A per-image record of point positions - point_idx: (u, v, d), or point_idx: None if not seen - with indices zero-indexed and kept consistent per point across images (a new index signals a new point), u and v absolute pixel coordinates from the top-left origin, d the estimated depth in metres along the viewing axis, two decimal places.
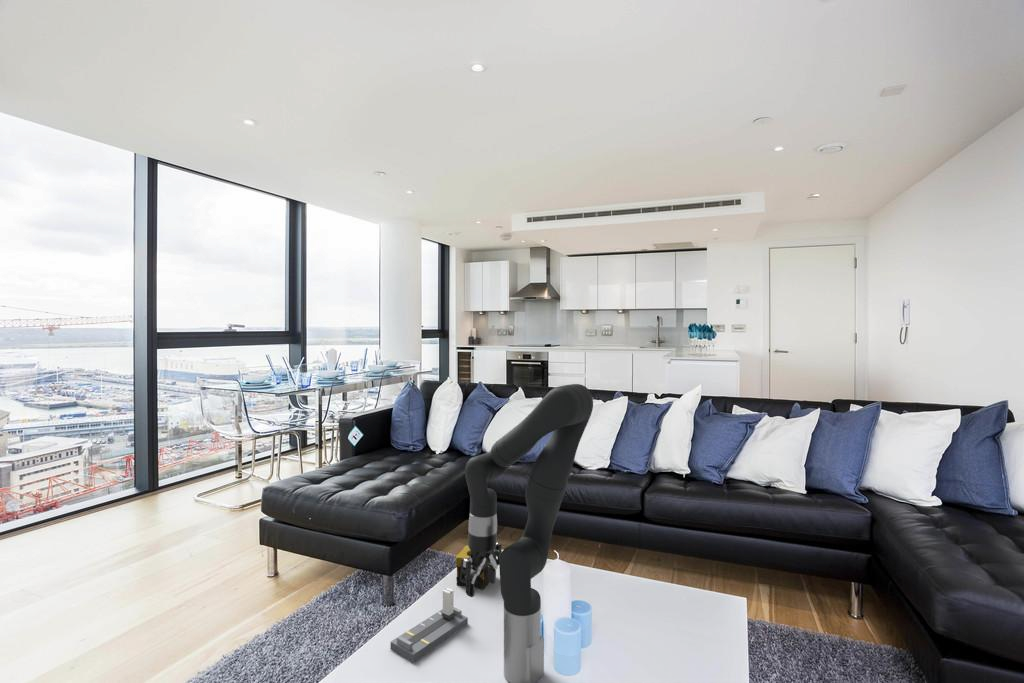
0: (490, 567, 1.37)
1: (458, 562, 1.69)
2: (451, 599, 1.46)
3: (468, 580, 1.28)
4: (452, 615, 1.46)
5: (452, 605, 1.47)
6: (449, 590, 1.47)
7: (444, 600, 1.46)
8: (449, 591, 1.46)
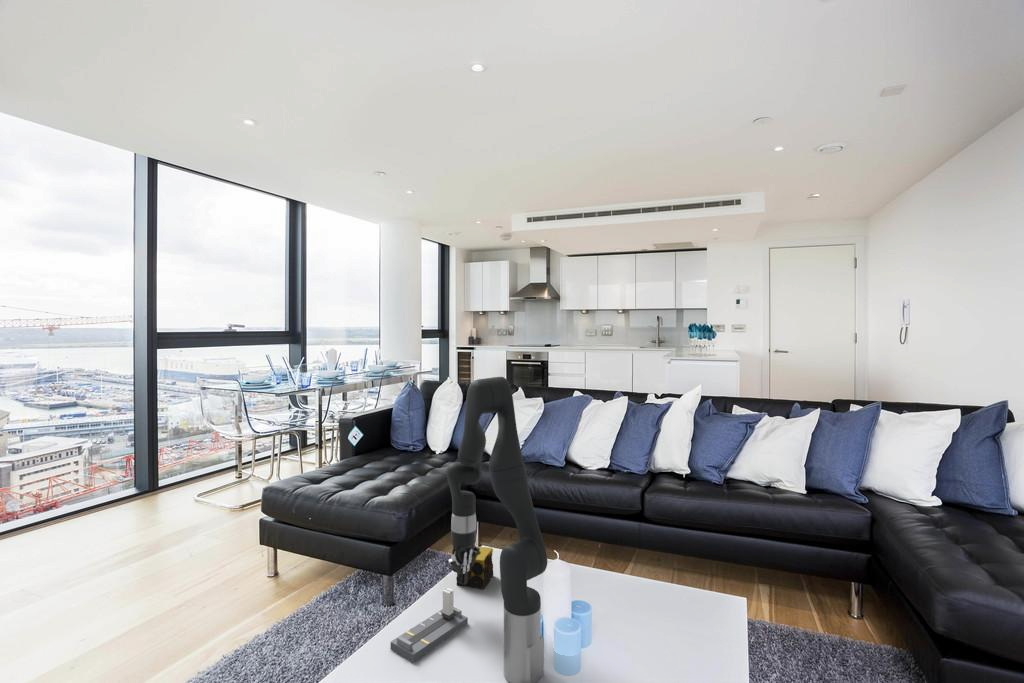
0: None
1: None
2: (451, 599, 1.46)
3: (460, 570, 1.49)
4: (452, 615, 1.46)
5: (452, 605, 1.47)
6: (449, 590, 1.47)
7: (444, 600, 1.46)
8: (449, 591, 1.46)
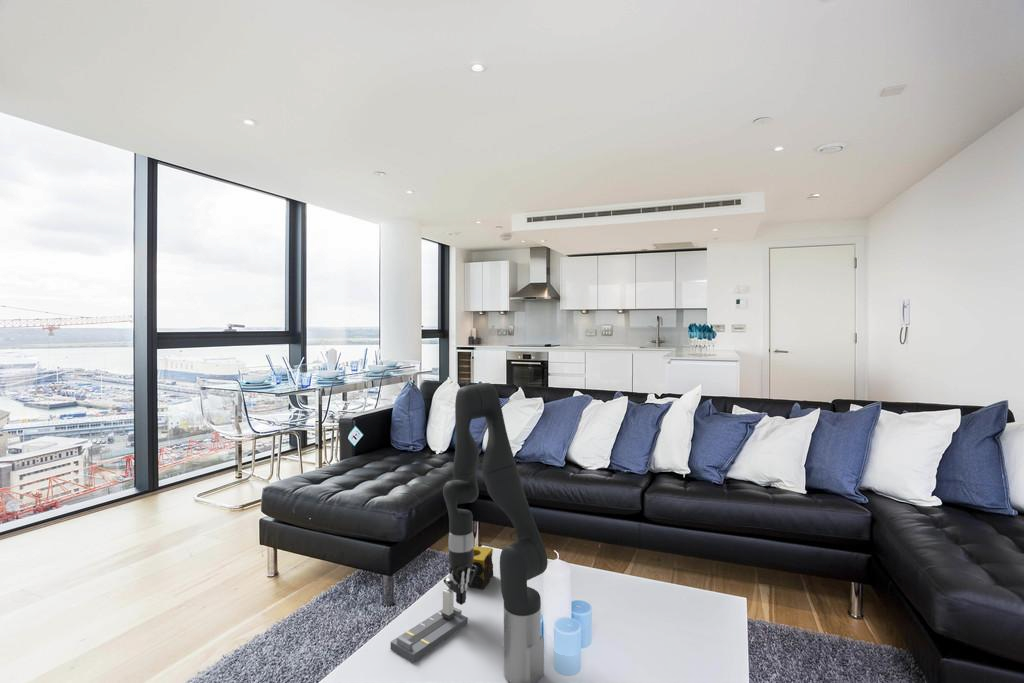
0: None
1: None
2: (451, 599, 1.46)
3: (457, 590, 1.48)
4: (452, 615, 1.46)
5: (452, 605, 1.47)
6: (449, 590, 1.47)
7: (444, 600, 1.46)
8: (449, 591, 1.46)
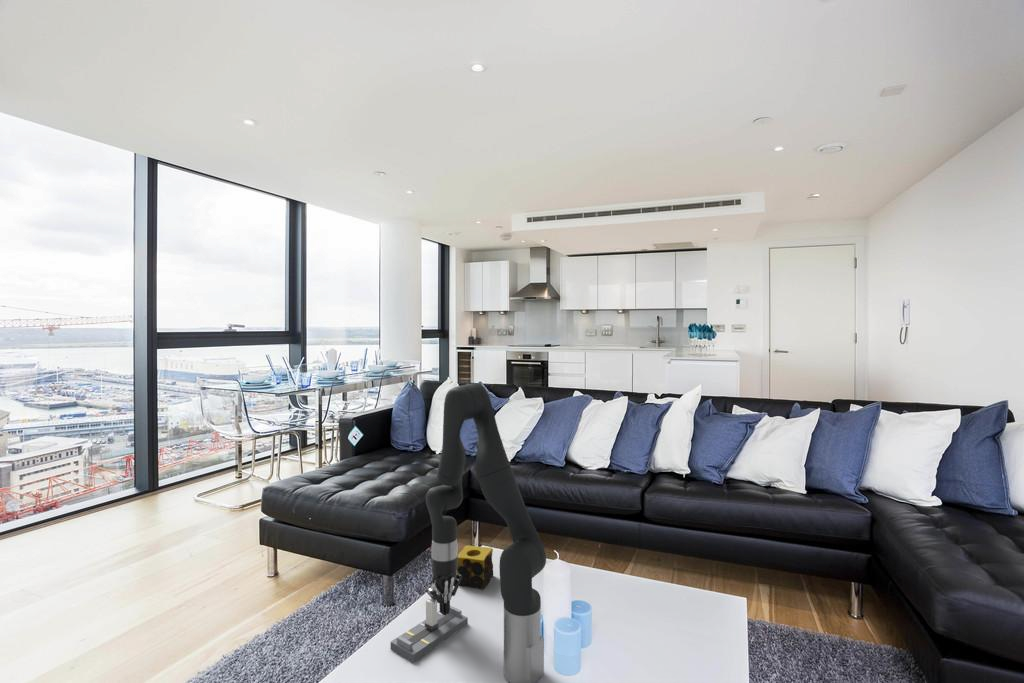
0: None
1: (458, 562, 1.69)
2: (434, 609, 1.41)
3: (441, 600, 1.43)
4: (436, 626, 1.41)
5: (436, 615, 1.41)
6: (433, 600, 1.42)
7: (427, 610, 1.41)
8: (432, 601, 1.41)
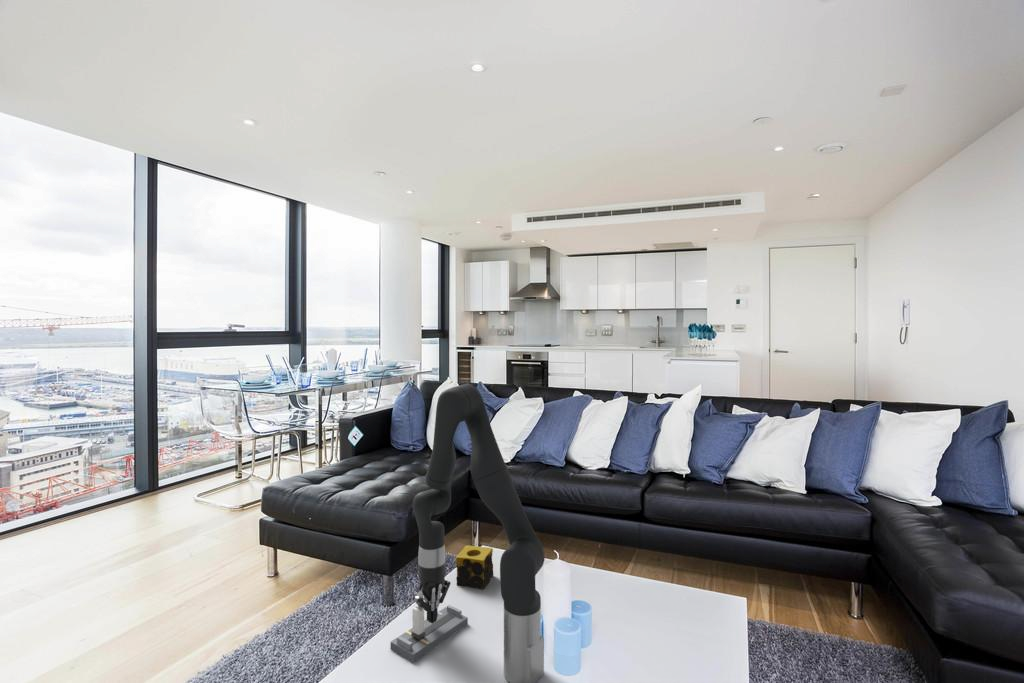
0: None
1: (459, 562, 1.69)
2: (421, 617, 1.37)
3: (428, 608, 1.39)
4: (422, 634, 1.37)
5: (422, 624, 1.37)
6: (420, 607, 1.38)
7: (414, 618, 1.37)
8: (419, 609, 1.37)
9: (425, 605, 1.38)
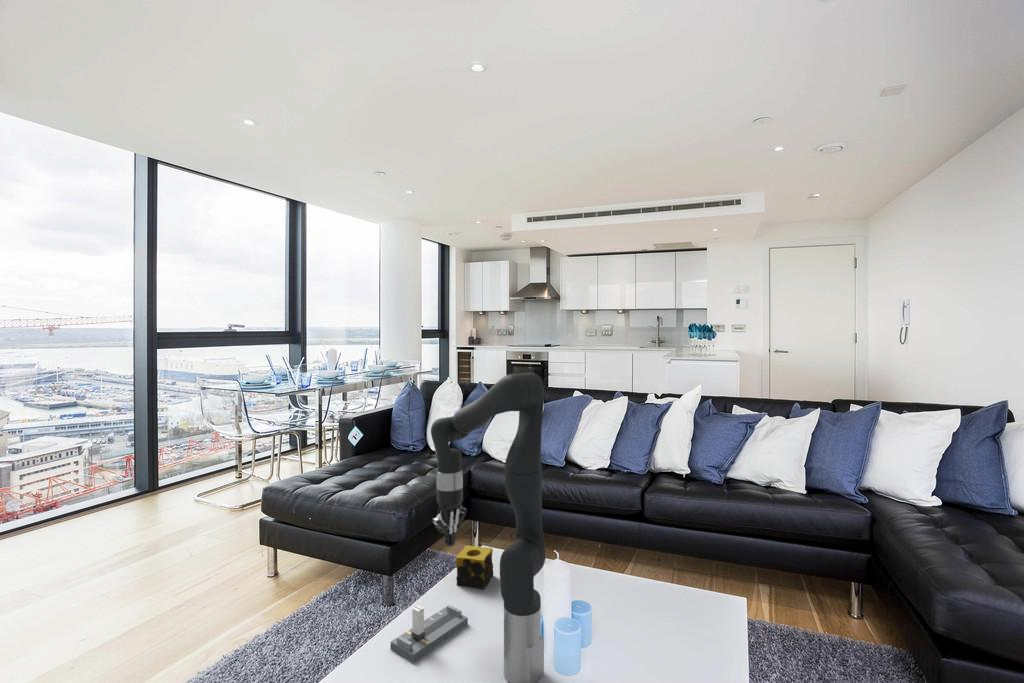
0: None
1: (458, 562, 1.69)
2: (421, 617, 1.37)
3: (446, 530, 1.43)
4: (422, 635, 1.37)
5: (422, 624, 1.37)
6: (420, 608, 1.38)
7: (414, 618, 1.37)
8: (419, 609, 1.37)
9: (444, 527, 1.42)
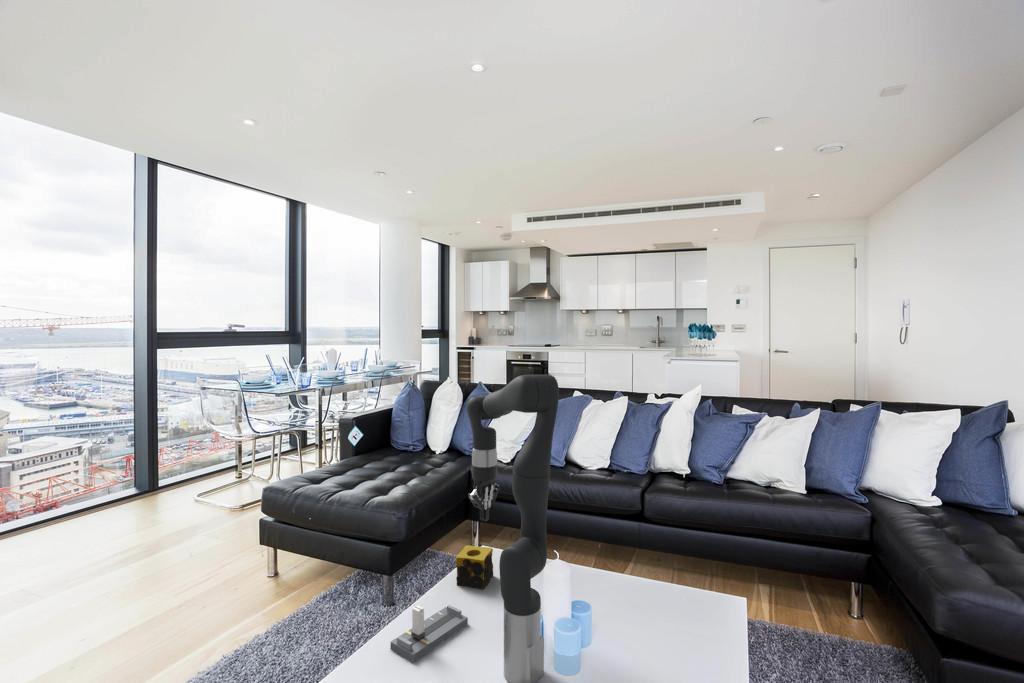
0: None
1: (459, 562, 1.69)
2: (421, 617, 1.37)
3: (481, 505, 1.48)
4: (422, 635, 1.37)
5: (422, 624, 1.37)
6: (420, 608, 1.38)
7: (414, 618, 1.37)
8: (419, 609, 1.37)
9: (479, 502, 1.47)
